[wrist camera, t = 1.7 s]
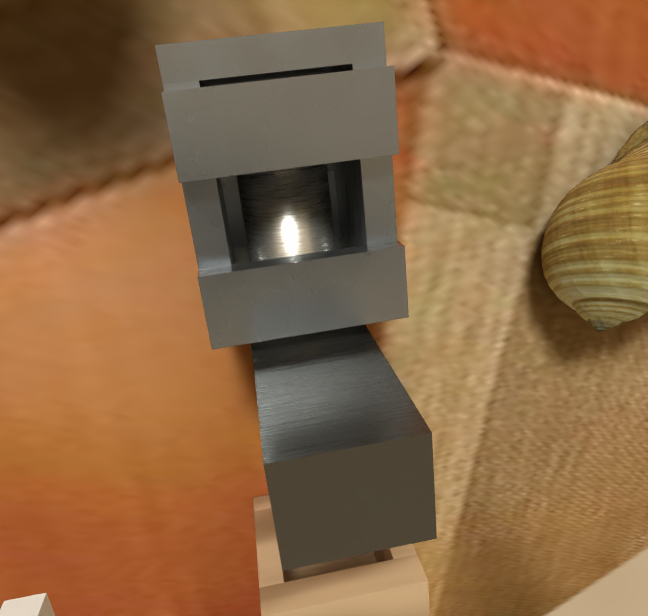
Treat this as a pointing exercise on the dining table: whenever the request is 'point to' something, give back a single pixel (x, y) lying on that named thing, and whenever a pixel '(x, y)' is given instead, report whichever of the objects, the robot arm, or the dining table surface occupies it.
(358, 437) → the sliding bolt
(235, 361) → the dining table surface
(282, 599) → the socket
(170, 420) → the dining table surface
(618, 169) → the seashell
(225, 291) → the sleeve
